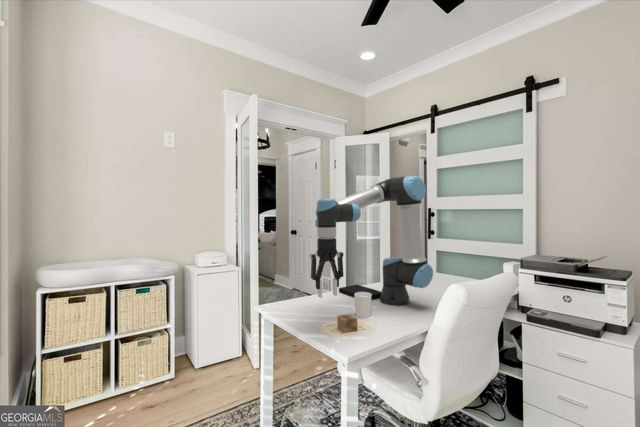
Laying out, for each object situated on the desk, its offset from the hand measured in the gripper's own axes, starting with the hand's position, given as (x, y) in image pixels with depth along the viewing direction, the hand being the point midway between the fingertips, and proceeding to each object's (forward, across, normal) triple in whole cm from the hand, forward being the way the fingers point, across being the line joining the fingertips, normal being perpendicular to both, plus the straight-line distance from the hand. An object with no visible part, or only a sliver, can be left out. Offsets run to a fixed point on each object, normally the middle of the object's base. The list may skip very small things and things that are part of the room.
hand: (327, 295), depth 124 cm
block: (+15, -8, 0) cm, 17 cm away
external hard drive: (+16, -38, -43) cm, 60 cm away
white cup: (+15, -22, -12) cm, 30 cm away
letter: (+15, -8, -2) cm, 17 cm away
